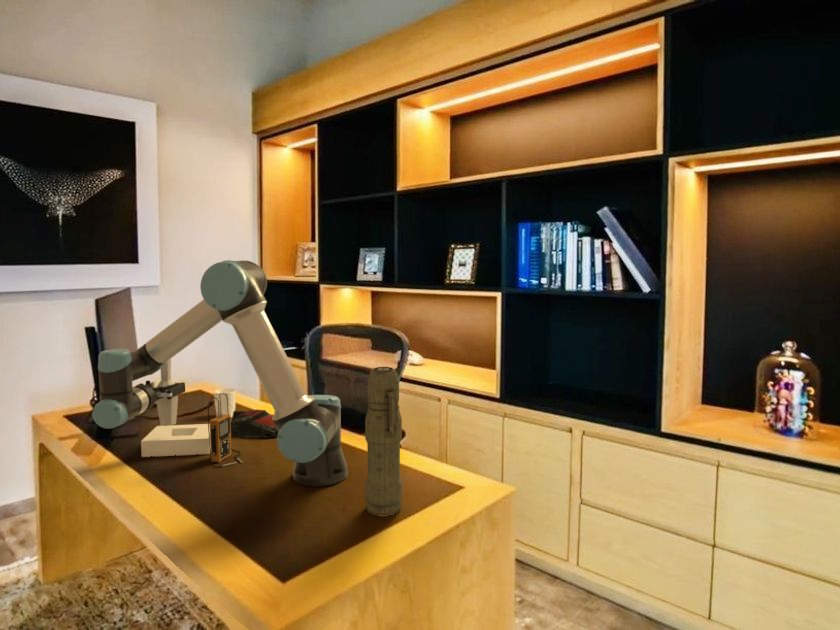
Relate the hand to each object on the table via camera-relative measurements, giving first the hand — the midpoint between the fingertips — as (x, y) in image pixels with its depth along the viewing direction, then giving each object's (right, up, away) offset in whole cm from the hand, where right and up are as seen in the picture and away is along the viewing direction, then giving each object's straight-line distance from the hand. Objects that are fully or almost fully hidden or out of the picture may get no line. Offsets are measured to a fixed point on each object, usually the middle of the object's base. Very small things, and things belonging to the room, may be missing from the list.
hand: (173, 382), depth 181 cm
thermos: (+69, -27, -41) cm, 85 cm away
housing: (+1, -22, +4) cm, 22 cm away
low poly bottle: (0, -13, -4) cm, 13 cm away
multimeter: (+21, -23, -7) cm, 32 cm away
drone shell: (+22, -20, +20) cm, 36 cm away
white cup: (+3, -18, +39) cm, 43 cm away
